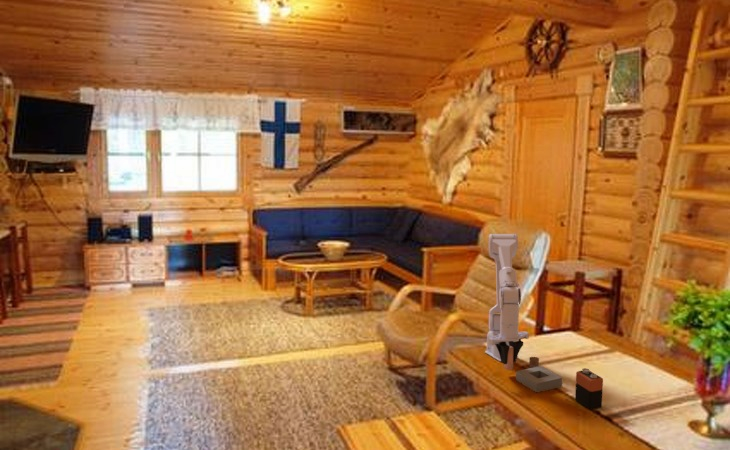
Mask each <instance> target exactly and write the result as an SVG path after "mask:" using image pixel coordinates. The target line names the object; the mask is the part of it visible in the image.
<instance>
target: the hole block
mask: <svg viewBox="0 0 730 450" xmlns="http://www.w3.org/2000/svg"><path fill="white" fill-rule="evenodd" d="M515 380H516V382H518V383H520V384H521V383H522V385H523V386H524V387H526V388H528V389H529V388H530V389H529V390H531V391H532V392H534V391H535V392H534V393H536V392H538V393H541V392H540V391H542V392H545V390H546V391H549V389H550V390H553V389H557V388H558V387H559V388H562V387H563V377H562V376H560V375H559V374H556V373H555V372H554V371H551V370H549V369H547V368H545V367H544V366H542V365H539V366H538V367H533V368H525V369H519V370H516V371H515ZM561 386H562V387H561Z"/></svg>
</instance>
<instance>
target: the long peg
mask: <svg viewBox="0 0 730 450" xmlns="http://www.w3.org/2000/svg"><path fill="white" fill-rule="evenodd" d="M503 369H504V370H513V369H514V362H513V347H512V346H510V348H509V351H508V356H507V364H503Z"/></svg>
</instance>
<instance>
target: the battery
mask: <svg viewBox="0 0 730 450" xmlns="http://www.w3.org/2000/svg"><path fill="white" fill-rule="evenodd" d="M575 375H576V376H575V379H576V380H575V392H574V393H575V394H574V395H575V398H574V400H575V401H577V402H578V403H579V404H580V405H582V406H584V407H585V408H587V409H588V410H590V411H591V410H594V409H600V408H602V406H603V405H602V404H603V389H604V388H603V386H604V378H603V377H602V376H600V375H598V374H596V373H594V372H592V371H591V370H590V368H583V367H582V370H578V371H576V373H575Z"/></svg>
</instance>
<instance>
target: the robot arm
mask: <svg viewBox="0 0 730 450" xmlns="http://www.w3.org/2000/svg"><path fill="white" fill-rule="evenodd" d="M518 237H519V236H518V235H517V234H516V233H490V234H488V255H489V258H491V259H493V261H494V263H495V264H494V265H495V281H496V282H495V283H496V285H495V286H496V287H495V288H496V289H495V291H496V294H495V295H496V304H495V305H494V306H493V307H491V308H490V309H489V310H488V311H489V312H488V329H489V331H488V332H487V334H486V350H485V351H484V353H485V354H486V355H488V356H489V357H492V358H493V359H494V360H497V361H498V362H501V363H502V364H503V365H504V364H507V356H508V351H509V348H510V346H512V347H513V363H516V362H517V359H518V358H519V356H518V355H519V353H520V350H521V349H522V347H523V346H524V341H522V340H523V339H526V340H528V339H529V338H530V333H529V332H527V331H526V330H525V331H519V321H520V319H519V312H520V305H521V302H522V291H521V287H520V284H518V277H517V270H516V269H515V268H513V258H515V257H516V256H517V252H518V248H519V238H518Z"/></svg>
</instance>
